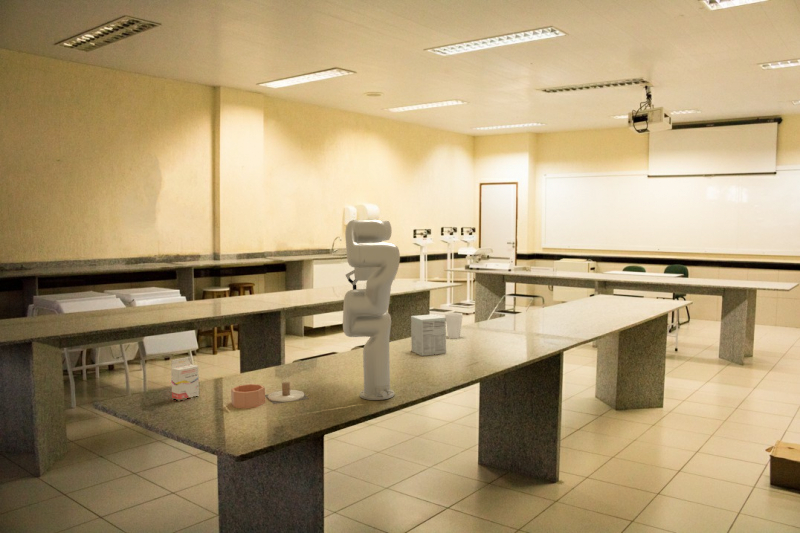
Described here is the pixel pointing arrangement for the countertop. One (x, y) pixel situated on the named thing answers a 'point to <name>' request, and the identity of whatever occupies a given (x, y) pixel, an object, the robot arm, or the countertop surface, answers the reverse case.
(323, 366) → the countertop surface
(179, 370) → the ink cartridge box
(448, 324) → the foam cup
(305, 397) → the mat
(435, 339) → the supplement box
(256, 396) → the bowl
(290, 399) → the lid
